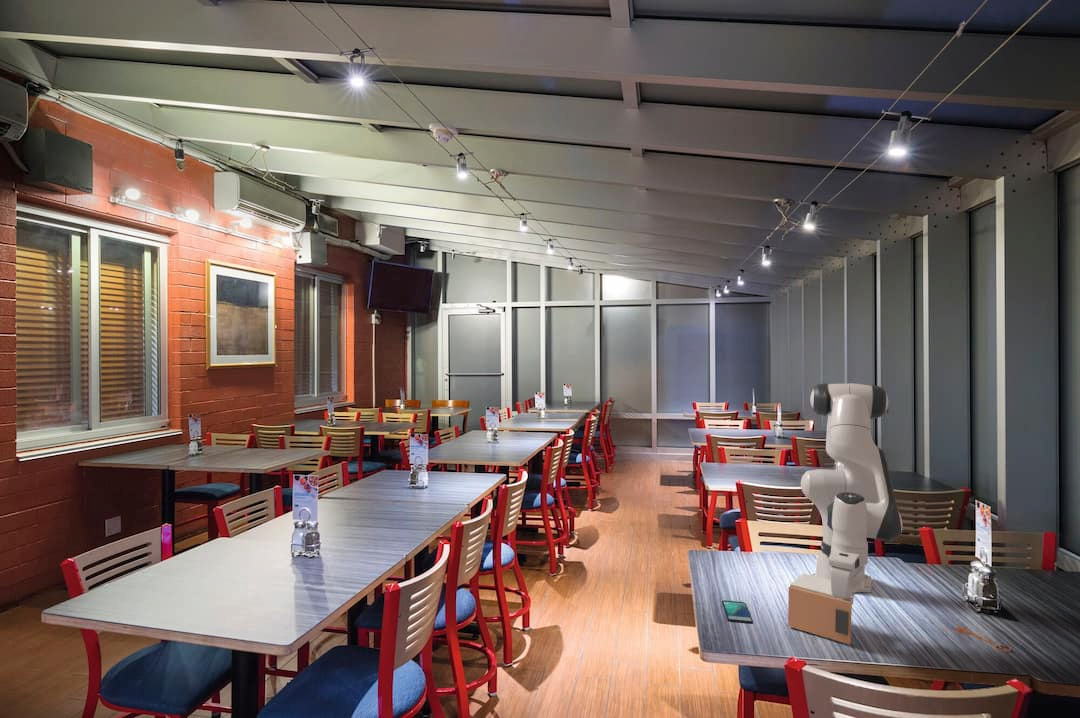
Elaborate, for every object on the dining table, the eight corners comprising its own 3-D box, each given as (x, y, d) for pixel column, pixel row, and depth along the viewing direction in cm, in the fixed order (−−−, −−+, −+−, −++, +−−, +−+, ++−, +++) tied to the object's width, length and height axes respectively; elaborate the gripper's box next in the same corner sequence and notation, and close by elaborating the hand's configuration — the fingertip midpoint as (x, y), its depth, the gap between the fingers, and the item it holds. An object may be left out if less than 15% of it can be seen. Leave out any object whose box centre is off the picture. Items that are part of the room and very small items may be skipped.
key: (947, 630, 170) (996, 655, 156) (947, 627, 170) (996, 652, 156) (964, 627, 171) (1014, 652, 157) (964, 624, 171) (1014, 648, 157)
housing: (802, 613, 178) (803, 573, 178) (846, 625, 170) (847, 583, 170) (789, 626, 169) (790, 584, 169) (835, 639, 161) (835, 595, 161)
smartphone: (727, 620, 172) (721, 599, 186) (727, 623, 172) (721, 602, 186) (753, 623, 170) (745, 602, 185) (753, 625, 170) (745, 604, 185)
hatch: (789, 624, 169) (789, 586, 169) (850, 643, 158) (851, 602, 158) (787, 626, 168) (788, 587, 168) (849, 645, 157) (850, 603, 157)
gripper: (846, 543, 171) (845, 591, 171) (826, 560, 156) (825, 612, 156) (871, 548, 167) (870, 597, 167) (852, 565, 152) (851, 620, 152)
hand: (848, 605), depth 161 cm, fingers closed
